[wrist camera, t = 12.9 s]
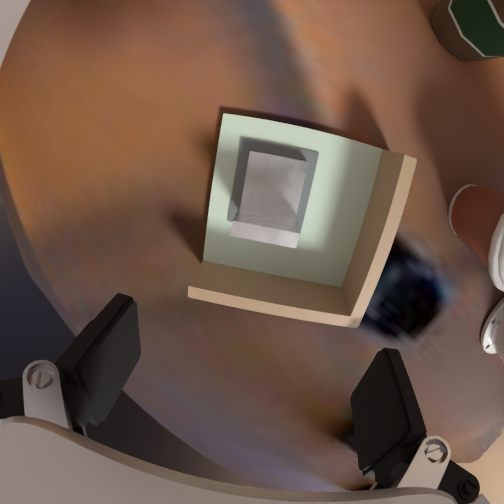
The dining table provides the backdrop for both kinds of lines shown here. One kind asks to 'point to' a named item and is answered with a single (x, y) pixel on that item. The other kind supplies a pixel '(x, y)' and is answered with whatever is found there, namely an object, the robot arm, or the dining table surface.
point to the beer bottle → (470, 28)
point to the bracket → (270, 199)
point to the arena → (304, 225)
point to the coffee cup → (481, 226)
